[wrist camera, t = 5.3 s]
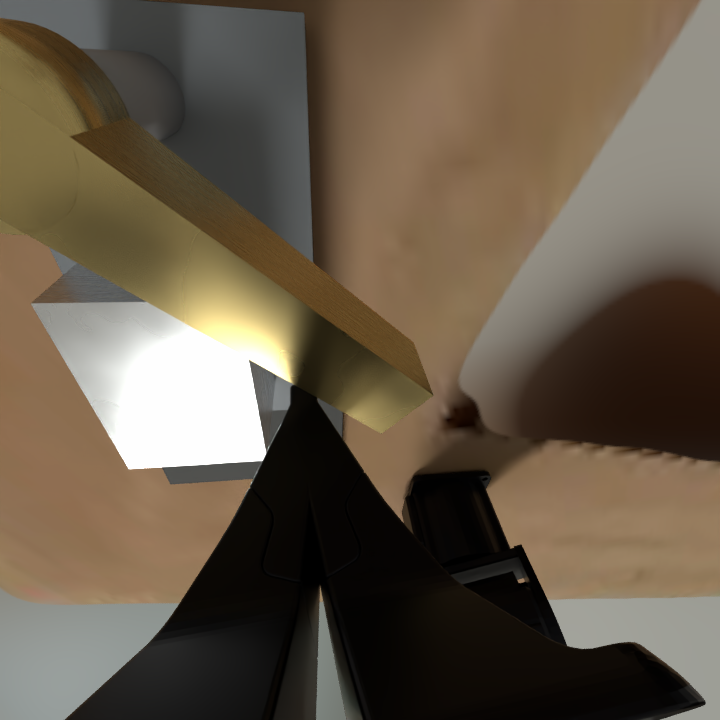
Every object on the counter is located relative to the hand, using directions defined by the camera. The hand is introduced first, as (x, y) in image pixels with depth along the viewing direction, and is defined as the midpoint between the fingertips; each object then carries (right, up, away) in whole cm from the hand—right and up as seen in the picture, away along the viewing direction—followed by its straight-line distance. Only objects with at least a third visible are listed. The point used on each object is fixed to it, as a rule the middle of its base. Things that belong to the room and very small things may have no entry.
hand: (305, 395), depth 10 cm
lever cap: (-5, +3, +5) cm, 8 cm away
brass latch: (-1, +3, -1) cm, 4 cm away
